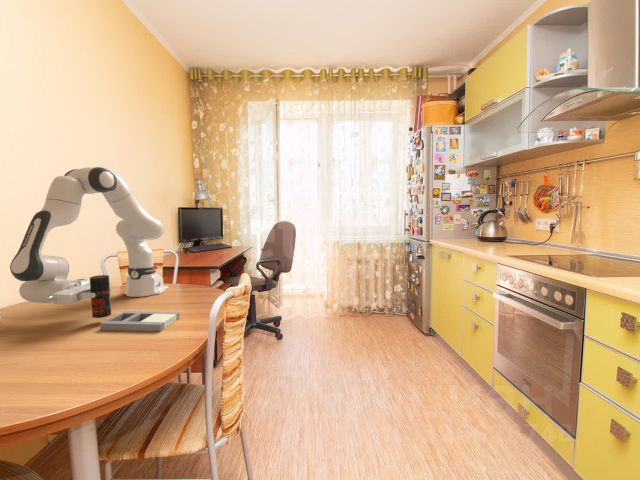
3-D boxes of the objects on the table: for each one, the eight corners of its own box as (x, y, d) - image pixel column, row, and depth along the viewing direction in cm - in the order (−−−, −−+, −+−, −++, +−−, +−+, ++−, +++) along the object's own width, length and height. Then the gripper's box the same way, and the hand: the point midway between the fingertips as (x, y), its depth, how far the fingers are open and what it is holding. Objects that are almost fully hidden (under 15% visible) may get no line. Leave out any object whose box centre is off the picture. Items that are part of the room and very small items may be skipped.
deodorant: (90, 315, 120) (87, 276, 119) (108, 311, 125) (106, 274, 123) (94, 319, 116) (92, 279, 115) (113, 315, 121) (111, 276, 119)
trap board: (125, 317, 127) (125, 311, 127) (179, 318, 126) (179, 312, 126) (100, 330, 113) (100, 323, 113) (160, 331, 112) (160, 324, 112)
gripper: (41, 290, 109) (80, 291, 109) (87, 277, 130) (119, 278, 129) (43, 308, 110) (81, 309, 110) (88, 292, 130) (120, 293, 130)
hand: (102, 292), depth 120 cm, fingers closed on deodorant, 6 cm apart
